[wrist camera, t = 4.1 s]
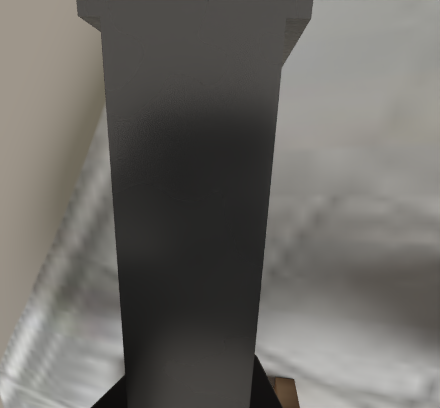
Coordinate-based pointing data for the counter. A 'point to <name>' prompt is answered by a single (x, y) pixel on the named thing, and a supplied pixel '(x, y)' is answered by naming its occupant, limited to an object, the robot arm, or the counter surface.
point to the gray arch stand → (192, 185)
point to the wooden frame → (286, 392)
